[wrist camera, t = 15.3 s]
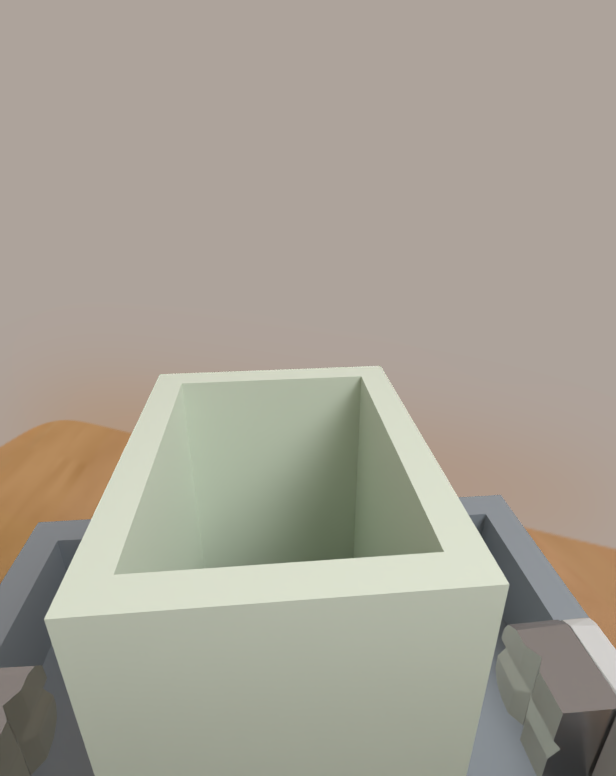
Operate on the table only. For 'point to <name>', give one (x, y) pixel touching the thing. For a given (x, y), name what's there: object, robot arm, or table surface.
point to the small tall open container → (278, 588)
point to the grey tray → (496, 726)
